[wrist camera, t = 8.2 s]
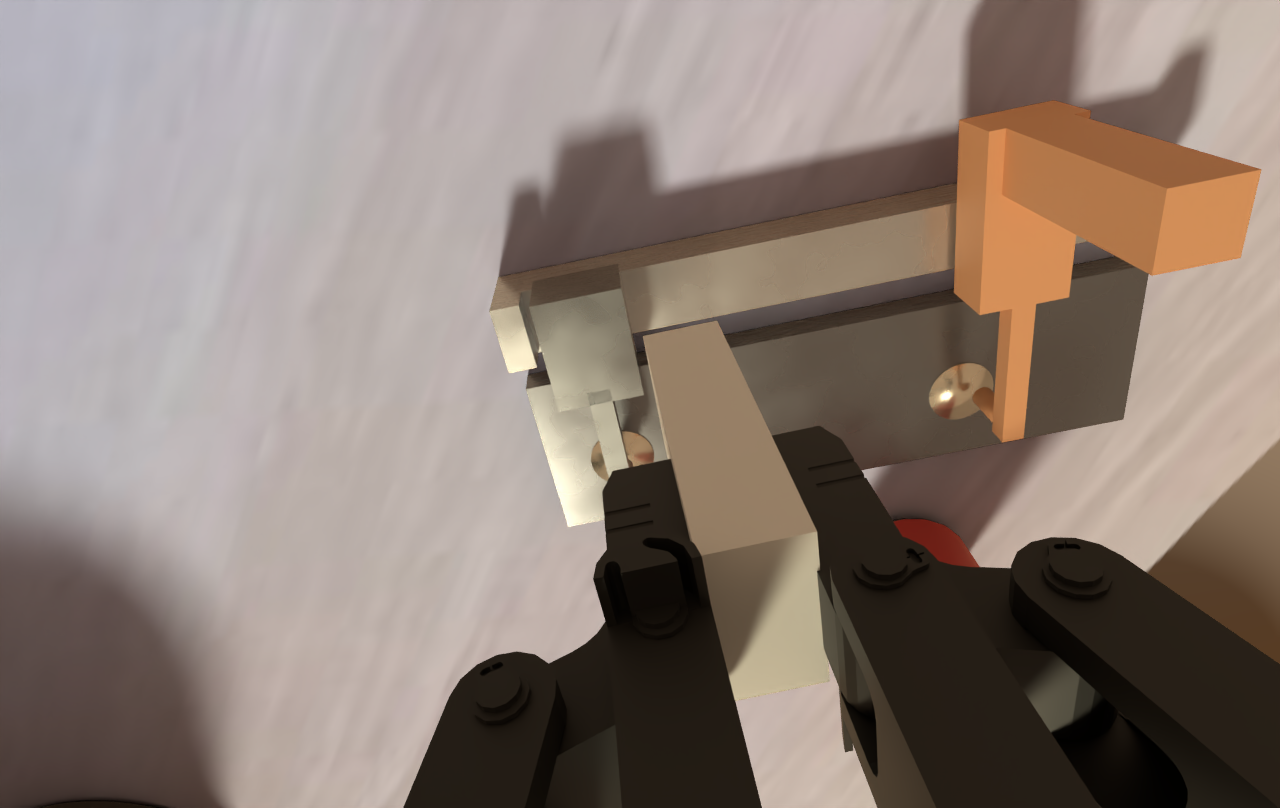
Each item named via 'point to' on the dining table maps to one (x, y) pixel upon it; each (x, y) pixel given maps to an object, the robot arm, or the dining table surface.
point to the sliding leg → (1076, 220)
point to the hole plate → (886, 380)
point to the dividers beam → (704, 291)
